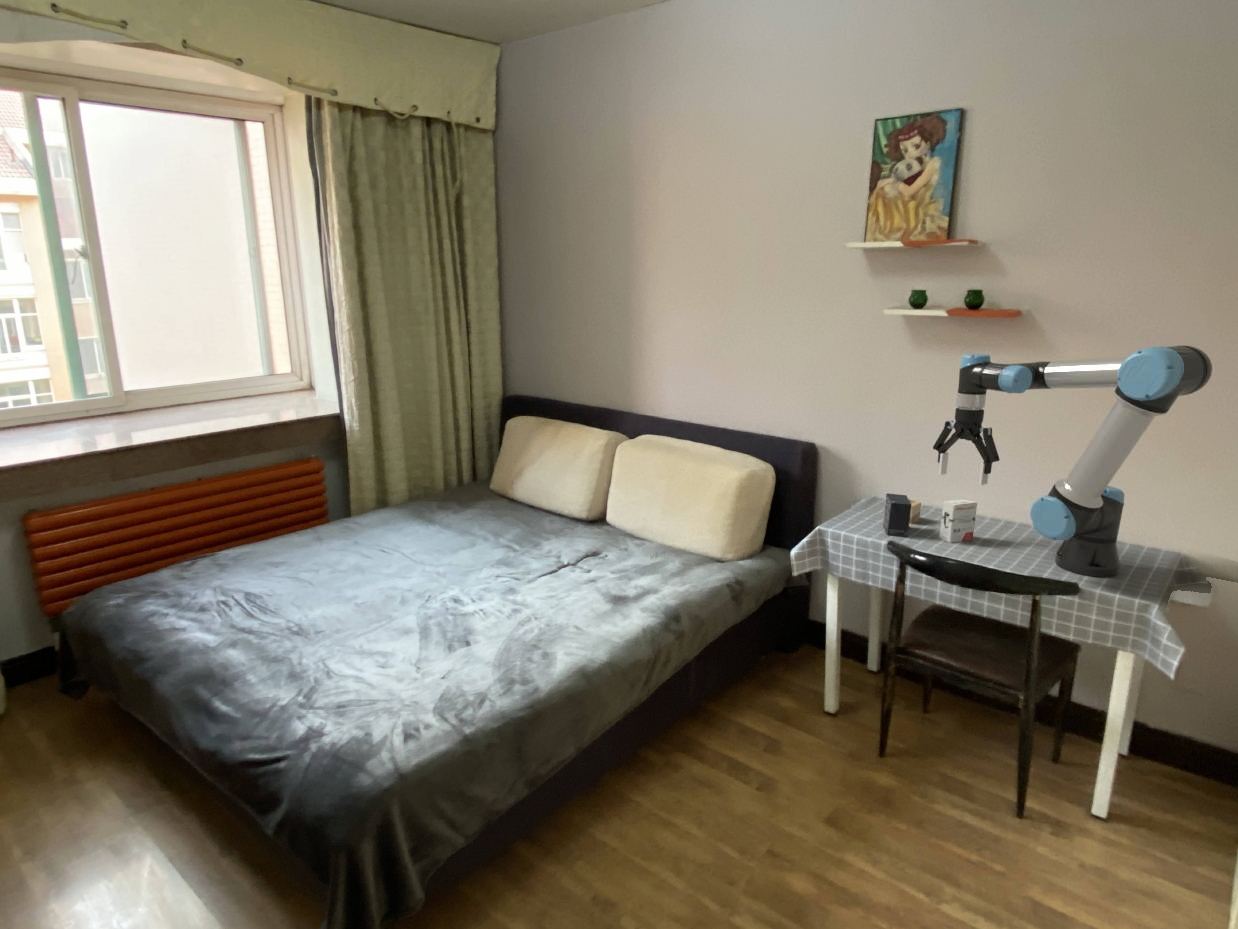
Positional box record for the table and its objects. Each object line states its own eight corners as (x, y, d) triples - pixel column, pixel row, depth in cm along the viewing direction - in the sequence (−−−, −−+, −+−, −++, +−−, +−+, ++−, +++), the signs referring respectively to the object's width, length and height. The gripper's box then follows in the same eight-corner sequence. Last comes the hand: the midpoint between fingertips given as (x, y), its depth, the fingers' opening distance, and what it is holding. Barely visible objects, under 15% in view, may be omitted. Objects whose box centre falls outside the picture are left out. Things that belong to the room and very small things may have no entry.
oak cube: (919, 520, 247) (921, 502, 245) (911, 524, 243) (912, 506, 241) (901, 515, 251) (903, 498, 250) (893, 519, 247) (894, 502, 246)
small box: (909, 537, 230) (912, 503, 228) (886, 535, 232) (889, 502, 229) (903, 526, 241) (907, 494, 238) (882, 524, 242) (885, 492, 239)
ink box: (961, 535, 233) (966, 497, 230) (973, 540, 228) (978, 502, 225) (938, 537, 230) (942, 500, 227) (949, 543, 226) (954, 504, 223)
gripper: (1018, 413, 211) (1009, 487, 216) (941, 401, 232) (934, 468, 237) (1002, 415, 208) (992, 490, 212) (925, 402, 229) (918, 471, 233)
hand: (962, 479), depth 225 cm, fingers open, 13 cm apart
